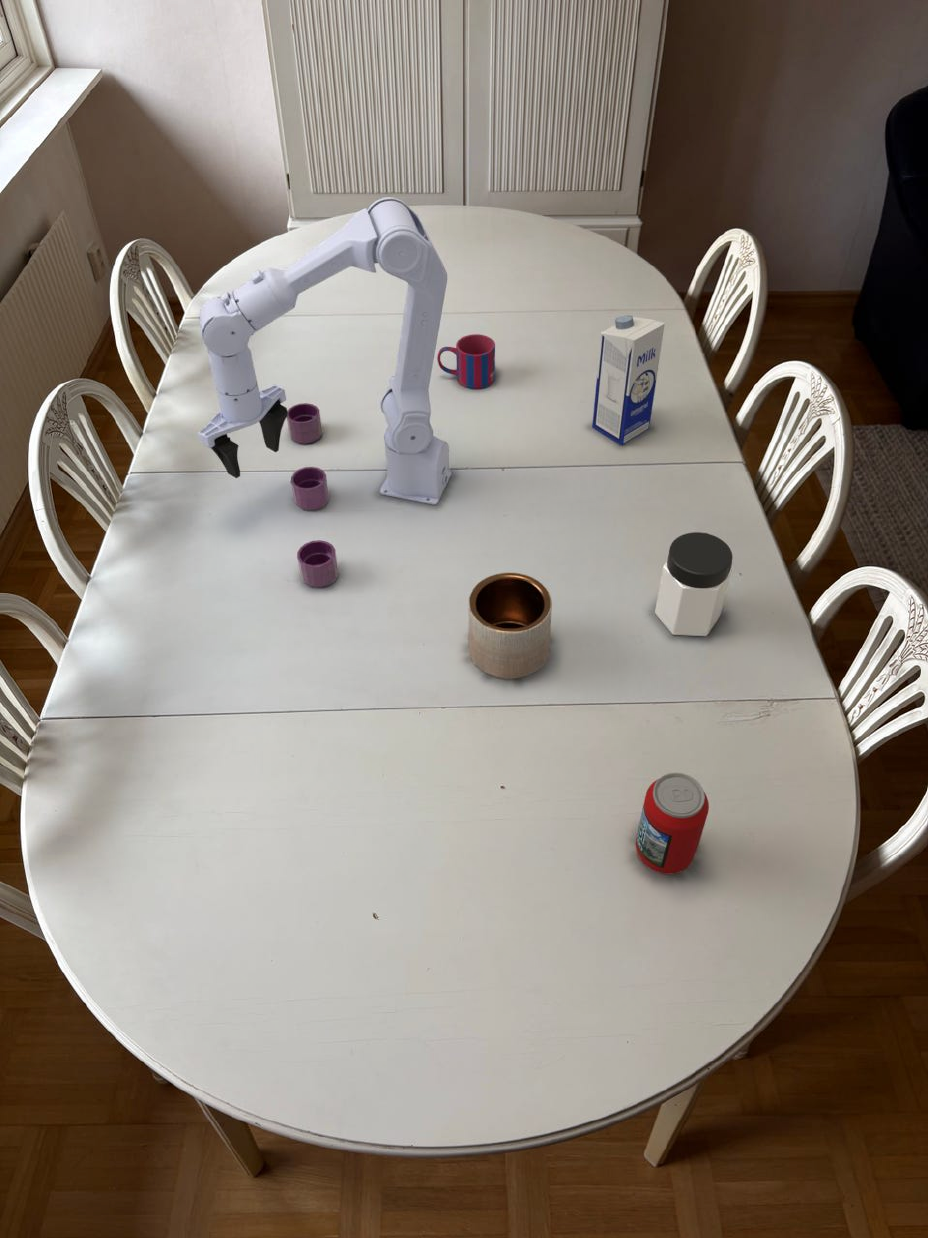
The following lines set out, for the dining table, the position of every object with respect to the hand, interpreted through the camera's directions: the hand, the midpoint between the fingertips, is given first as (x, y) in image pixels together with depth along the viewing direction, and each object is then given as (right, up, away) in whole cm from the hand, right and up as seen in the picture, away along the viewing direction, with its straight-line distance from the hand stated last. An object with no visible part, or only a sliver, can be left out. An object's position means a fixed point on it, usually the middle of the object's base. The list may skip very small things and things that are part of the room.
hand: (253, 461), depth 148 cm
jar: (+62, -23, -9) cm, 67 cm away
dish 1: (+5, +7, +19) cm, 21 cm away
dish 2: (+7, -5, +8) cm, 12 cm away
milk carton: (+57, +8, +19) cm, 61 cm away
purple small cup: (+10, -17, -3) cm, 20 cm away
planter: (+37, -28, -13) cm, 48 cm away
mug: (+32, +19, +30) cm, 48 cm away
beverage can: (+54, -50, -33) cm, 81 cm away
